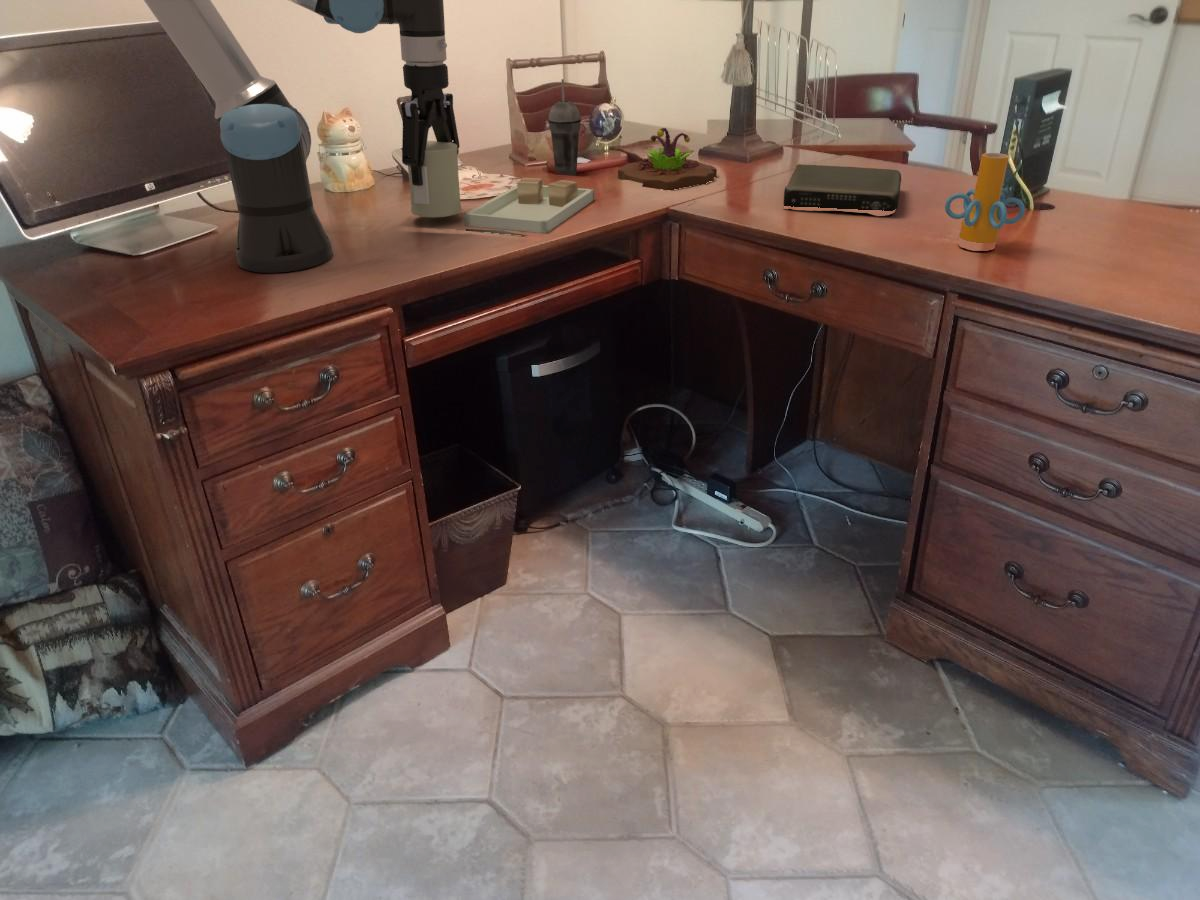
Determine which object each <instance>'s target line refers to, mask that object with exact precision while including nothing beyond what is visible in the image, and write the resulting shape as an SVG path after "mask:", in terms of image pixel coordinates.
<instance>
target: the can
mask: <svg viewBox="0 0 1200 900" xmlns="http://www.w3.org/2000/svg"><path fill="white" fill-rule="evenodd" d="M408 157H409V156H408ZM423 166H427V175H428V188H429V200H430V204H419V203H414V193H413V183H412V174H411V167H410V166H407V169H408V171H407V173H408V182H409V183H408V184H409V193H410V206H411V207H410V212H411V214H413V215H415V216H418V217H423V218H424V217H425V218H445V217H450V216H451V217H452V216H455V215H457V214H460V213H461V212H462V210H463V208H462V205H461V193H460V191H461V190H460V178H459V177H460V176H459V161H458V155H457V145H456V144H455V143H451V142H439V141H437V140H427V144H426V151H425V158H424V165H423Z"/></svg>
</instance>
